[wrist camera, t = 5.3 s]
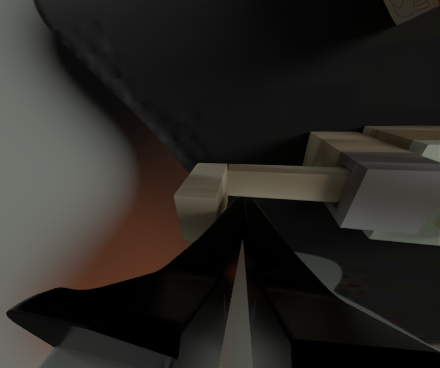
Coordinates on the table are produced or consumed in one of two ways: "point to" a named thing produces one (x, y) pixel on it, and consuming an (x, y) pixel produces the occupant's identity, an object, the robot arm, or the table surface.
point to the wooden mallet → (250, 189)
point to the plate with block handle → (436, 225)
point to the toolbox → (380, 176)
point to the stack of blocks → (409, 8)
